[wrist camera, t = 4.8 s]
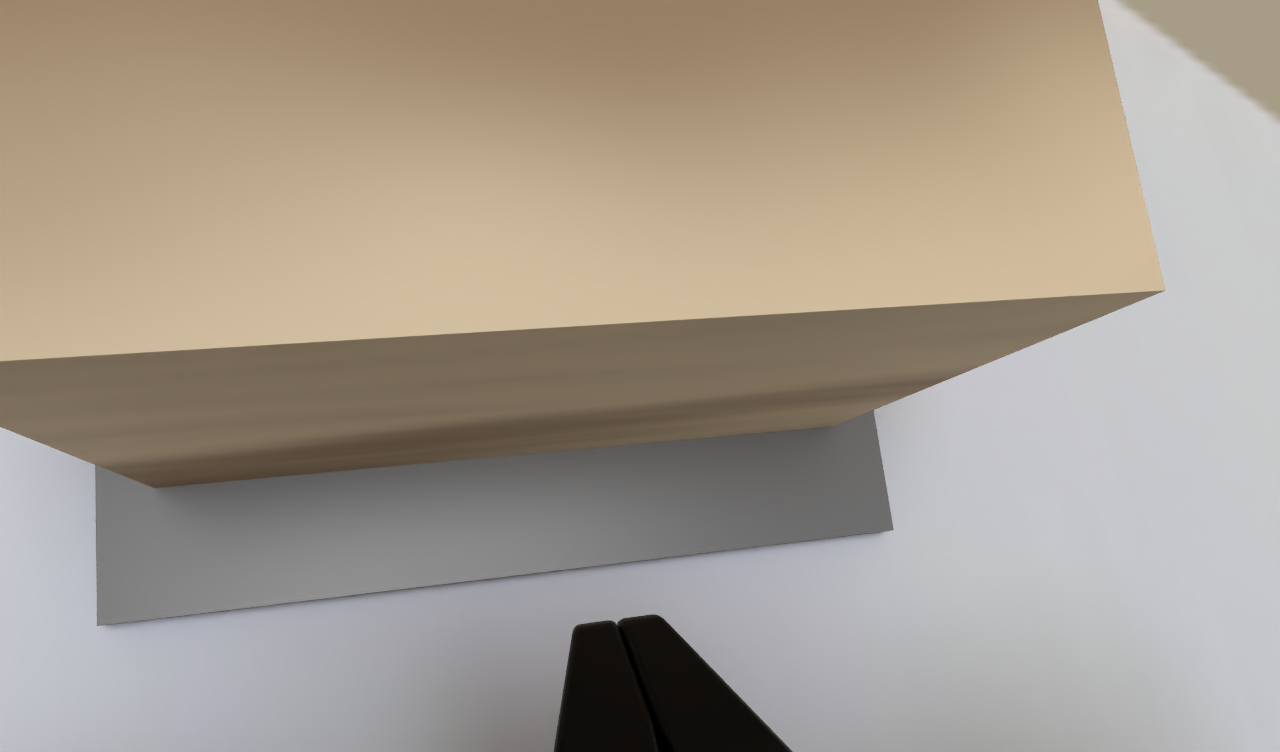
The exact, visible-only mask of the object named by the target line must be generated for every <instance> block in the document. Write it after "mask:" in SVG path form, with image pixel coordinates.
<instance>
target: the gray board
mask: <svg viewBox="0 0 1280 752" xmlns="http://www.w3.org/2000/svg"><path fill="white" fill-rule="evenodd" d="M95 473H96V566H97V626H100V625H109V624H118V623H126V622H134V621H143V620H151V619H159V618H168V617H176V616H184V615H193V614H201V613H209V612H218V611H226V610H234V609H242V608H251V607H259V606H267V605H276V604H284V603H292V602H301V601H309V600H317V599H326V598H334V597H342V596H351V595H359V594H367V593H376V592H384V591H392V590H401V589H409V588H417V587H426V586H434V585H442V584H450V583H459V582H467V581H475V580H484V579H492V578H500V577H509V576H517V575H525V574H534V573H542V572H550V571H559V570H567V569H575V568H584V567H592V566H600V565H609V564H617V563H625V562H634V561H642V560H650V559H659V558H667V557H675V556H683V555H692V554H700V553H708V552H717V551H725V550H733V549H742V548H750V547H758V546H767V545H775V544H783V543H792V542H800V541H808V540H817V539H825V538H833V537H842V536H850V535H858V534H867V533H875V532H883V531H890V530H893V524H892V518H891V512H890V506H889V500H888V495H887V489H886V483H885V477H884V471H883V465H882V459H881V453H880V447H879V441H878V435H877V429H876V423H875V417H874V411H873V410H872V411H870V412H867V413H865V414H862V415H860V416H857V417H855V418H852V419H850V420H848V421H845V422H843V423H840V424H838V425H835V426H831V427H820V428H809V429H798V430H787V431H776V432H765V433H754V434H743V435H732V436H721V437H710V438H699V439H688V440H677V441H666V442H655V443H644V444H633V445H622V446H611V447H600V448H589V449H578V450H567V451H556V452H545V453H534V454H523V455H512V456H501V457H490V458H480V459H469V460H458V461H447V462H436V463H425V464H414V465H403V466H392V467H381V468H370V469H359V470H348V471H337V472H326V473H315V474H304V475H293V476H282V477H271V478H260V479H249V480H238V481H227V482H216V483H205V484H194V485H183V486H172V487H161V488H153V487H150V486H148V485H145V484H143V483H140V482H137V481H135V480H132V479H130V478H127V477H125V476H122V475H120V474H117V473H115V472H112V471H110V470H107V469H105V468H102V467H100V466H97V465H95Z"/></svg>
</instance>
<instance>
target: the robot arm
mask: <svg viewBox="0 0 1280 752" xmlns="http://www.w3.org/2000/svg"><path fill="white" fill-rule="evenodd" d="M553 752H793V751H792V750H791V749H790V748H789V747H788V746H787V745H786V744H785V743H784V742H783V741H782V740H781V739H780V738H779V737H778V736H777V735H776V734H775V733H774V732H773V731H772V730H771V729H770V728H769V727H768V726H767V725H766V724H765V723H764V722H763V721H762V720H761V719H760V717H759V716H758V715H757V714H756V713H755V712H754V711H753V710H752V709H751V708H750V707H749V706H748V705H747V704H746V703H745V702H744V701H743V700H742V699H741V698H740V697H739V696H738V695H737V694H736V693H735V692H734V691H733V690H732V689H731V688H730V687H729V686H728V685H727V683H726V682H725V681H724V680H723V679H722V678H721V677H720V676H719V675H718V674H717V673H716V672H715V671H714V670H713V669H712V668H711V667H710V666H709V665H708V664H707V663H706V662H705V661H704V660H703V659H702V658H701V657H700V656H699V655H698V654H697V653H696V652H695V651H694V649H693V648H692V647H691V646H690V645H689V644H688V643H687V642H686V641H685V640H684V639H683V638H682V637H681V636H680V635H679V634H678V633H677V632H676V631H675V630H674V629H673V628H672V627H671V626H670V625H669V624H668V623H667V622H666V621H665V620H664V619H663V618H662V617H660V616H658V615H645V616H638V617H631V618H624V619H622V620H620V621H619V622H618V624H617V625H616V623H615V622H613V621H601V622H594V623H586V624H580V625H577V626H576V627H575V628H574V630H573V633H572V639H571V645H570V651H569V658H568V664H567V670H566V676H565V683H564V689H563V695H562V701H561V708H560V714H559V720H558V726H557V733H556V739H555V745H554V751H553Z"/></svg>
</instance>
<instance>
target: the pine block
mask: <svg viewBox="0 0 1280 752" xmlns="http://www.w3.org/2000/svg"><path fill="white" fill-rule="evenodd" d="M1163 291H1165V286H1164V282H1163V278H1162V273H1161V269H1160V265H1159V261H1158V256H1157V252H1156V248H1155V243H1154V239H1153V235H1152V231H1151V226H1150V222H1149V218H1148V213H1147V209H1146V205H1145V201H1144V196H1143V192H1142V188H1141V183H1140V179H1139V175H1138V171H1137V166H1136V162H1135V158H1134V153H1133V149H1132V145H1131V141H1130V136H1129V132H1128V128H1127V123H1126V119H1125V115H1124V111H1123V106H1122V102H1121V98H1120V93H1119V89H1118V85H1117V81H1116V76H1115V72H1114V68H1113V63H1112V59H1111V55H1110V51H1109V46H1108V42H1107V38H1106V33H1105V29H1104V25H1103V21H1102V16H1101V12H1100V8H1099V3H1098V0H0V427H2V428H5V429H7V430H10V431H12V432H15V433H17V434H20V435H22V436H25V437H27V438H30V439H32V440H35V441H37V442H40V443H42V444H45V445H47V446H50V447H52V448H55V449H57V450H60V451H62V452H65V453H67V454H70V455H72V456H75V457H77V458H80V459H82V460H85V461H87V462H90V463H92V464H95V465H97V466H100V467H102V468H105V469H107V470H110V471H112V472H115V473H117V474H120V475H122V476H125V477H127V478H130V479H132V480H135V481H137V482H140V483H143V484H145V485H148V486H150V487H153V488H161V487H172V486H183V485H194V484H205V483H216V482H227V481H238V480H249V479H260V478H271V477H282V476H293V475H304V474H315V473H326V472H337V471H348V470H359V469H370V468H381V467H392V466H403V465H414V464H425V463H436V462H447V461H458V460H469V459H480V458H490V457H501V456H512V455H523V454H534V453H545V452H556V451H567V450H578V449H589V448H600V447H611V446H622V445H633V444H644V443H655V442H666V441H677V440H688V439H699V438H710V437H721V436H732V435H743V434H754V433H765V432H776V431H787V430H798V429H809V428H820V427H831V426H835V425H838V424H840V423H843V422H845V421H848V420H850V419H852V418H855V417H857V416H860V415H862V414H865V413H867V412H870V411H872V410H874V409H877V408H879V407H882V406H884V405H887V404H889V403H892V402H894V401H896V400H899V399H901V398H904V397H906V396H909V395H911V394H914V393H916V392H918V391H921V390H923V389H926V388H928V387H931V386H933V385H936V384H938V383H940V382H943V381H945V380H948V379H950V378H953V377H955V376H957V375H960V374H962V373H965V372H967V371H970V370H972V369H975V368H977V367H979V366H982V365H984V364H987V363H989V362H992V361H994V360H997V359H999V358H1001V357H1004V356H1006V355H1009V354H1011V353H1014V352H1016V351H1019V350H1021V349H1023V348H1026V347H1028V346H1031V345H1033V344H1036V343H1038V342H1041V341H1043V340H1045V339H1048V338H1050V337H1053V336H1055V335H1058V334H1060V333H1063V332H1065V331H1067V330H1070V329H1072V328H1075V327H1077V326H1080V325H1082V324H1085V323H1087V322H1089V321H1092V320H1094V319H1097V318H1099V317H1102V316H1104V315H1107V314H1109V313H1111V312H1114V311H1116V310H1119V309H1121V308H1124V307H1126V306H1129V305H1131V304H1133V303H1136V302H1138V301H1141V300H1143V299H1146V298H1148V297H1150V296H1153V295H1155V294H1158V293H1160V292H1163Z"/></svg>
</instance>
